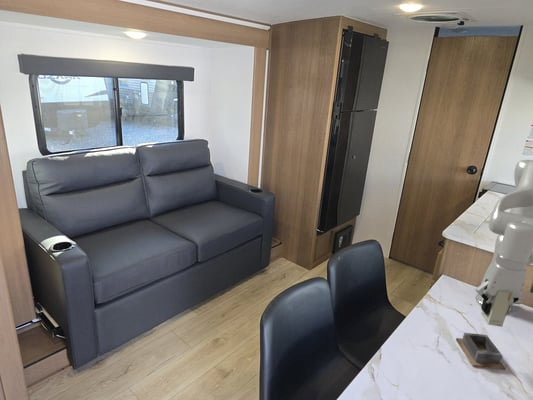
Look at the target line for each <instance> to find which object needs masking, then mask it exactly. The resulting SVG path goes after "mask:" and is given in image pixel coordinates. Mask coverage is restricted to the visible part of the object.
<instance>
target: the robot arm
mask: <svg viewBox="0 0 533 400" xmlns="http://www.w3.org/2000/svg"><path fill="white" fill-rule="evenodd" d="M513 177H514V179H513V180H514V185H515V190H514V191H511V192H509V193H507V194H505V195H503V196H501V198H499V199H498V200H497V201H496V203H495V205H494V207H493V210H492V212H491V215H490V217H489V221H488V229H489V231H491V232H492V233H494V234H495V235H497V236H496V239H495V244H494V250H493V251H494V252H493V256H492V259H491V263H490V264H489V266H488V267H487V269H486V271H485V273H484V275H483V277H482V280H481V283H480V285H478V287H477V288H475V291H476V293H477V294H476V295H475V300H476V302H477V303H478V304H479V305H480V307H481V311H482V310H483V312H484V313H485V314H486V315H488V314H489V312H490V309H491V306H492V304H491V301H492V300H493V298H494V296H496V295H497V292H498V291H508V292H513V296H512V299H511V302H510V305H509V308H508V311H507V314H506V317H507V315H508V313H510V312H511V311H512V306H513V305H521V304H522V301H521V299H524V298H526V294H525V293H524V287H525V282H526V278H527V277H526V276H527V269H526V268H527V265H530V264H531V265H533V159H521V160H519V161H518V162H517V163H516V165H515V168H514V176H513ZM509 209H510V210H509ZM506 210H509V211H506ZM488 296H489V297H488Z"/></svg>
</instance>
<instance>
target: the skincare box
mask: <svg viewBox="0 0 533 400" xmlns="http://www.w3.org/2000/svg"><path fill="white" fill-rule="evenodd" d="M512 296H513V292H508V291H498V292H497V295H496V296H494V298H493V300H492V301H491V304H492V306H491V309H490V312H489V314H488V315H486V314H485V313H484V312H483V310H482V309H481V312H480V314H481V316H482V318H483V320H484V321H485V323H486V324H487V325H490V326H493V327H494V326H495V327H500V328H503V326H504V322H505V319H506V317H507V316H506V314H507V315H508V313H507V311H508V308H509V305H510V302H511V299H512ZM488 297H489V296H488Z"/></svg>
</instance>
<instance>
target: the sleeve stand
mask: <svg viewBox="0 0 533 400" xmlns="http://www.w3.org/2000/svg"><path fill="white" fill-rule="evenodd" d="M455 341H456V342H457V344H458V346H459V347H460V349H461V350H462V352H463V354H464V355H465V356H466V359H467V360H468V362H469V363H470V364H471V366H472V367H473V368H474V367H475V368H483V369H495V370H502V371H505V370H506V366H505V365H504V363H503V362H502V361H501V360H502V358H503V354H502V353H501V351H499V349H498V348H497V347H496V345H495V344H494V342H493V341H492V340H491V339H490V337H489V335H487V334H484V333H483V334H482V333H471V332H464V333H463V336H462V338H459V337H456V338H455Z"/></svg>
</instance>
